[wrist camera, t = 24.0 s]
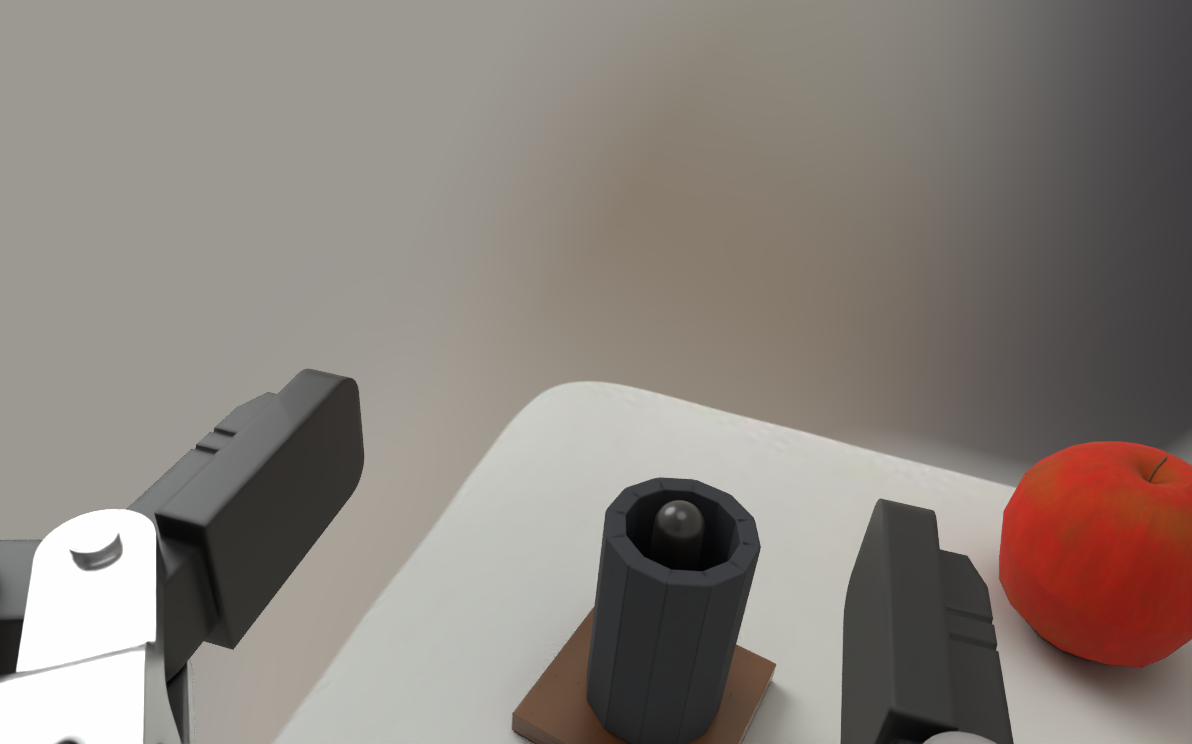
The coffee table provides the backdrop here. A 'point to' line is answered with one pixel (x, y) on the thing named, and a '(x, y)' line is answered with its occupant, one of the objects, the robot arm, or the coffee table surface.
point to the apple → (1103, 552)
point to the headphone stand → (560, 695)
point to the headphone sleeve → (667, 615)
